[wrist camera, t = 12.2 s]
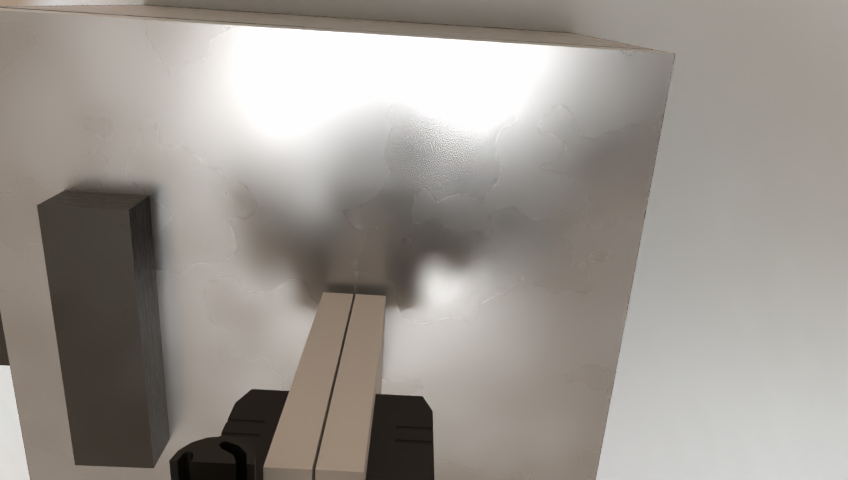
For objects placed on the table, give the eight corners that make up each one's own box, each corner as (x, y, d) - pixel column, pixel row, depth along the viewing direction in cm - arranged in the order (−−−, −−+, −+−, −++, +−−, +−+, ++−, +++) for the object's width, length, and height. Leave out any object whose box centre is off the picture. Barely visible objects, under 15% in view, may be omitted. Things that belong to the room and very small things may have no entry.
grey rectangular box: (573, 32, 24) (653, 49, 16) (527, 379, 30) (569, 530, 21) (77, 0, 24) (-110, -1, 16) (117, 357, 29) (-8, 502, 21)
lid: (656, 50, 16) (697, 58, 14) (570, 535, 21) (589, 599, 19) (-20, 6, 15) (-94, 6, 13) (62, 516, 20) (18, 580, 18)
